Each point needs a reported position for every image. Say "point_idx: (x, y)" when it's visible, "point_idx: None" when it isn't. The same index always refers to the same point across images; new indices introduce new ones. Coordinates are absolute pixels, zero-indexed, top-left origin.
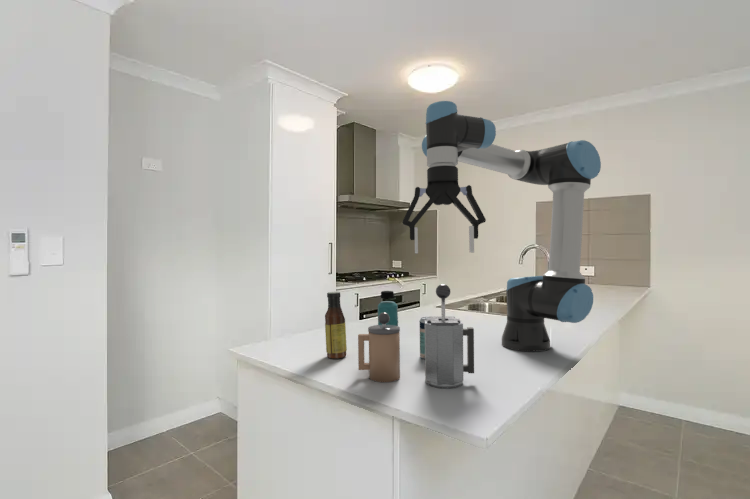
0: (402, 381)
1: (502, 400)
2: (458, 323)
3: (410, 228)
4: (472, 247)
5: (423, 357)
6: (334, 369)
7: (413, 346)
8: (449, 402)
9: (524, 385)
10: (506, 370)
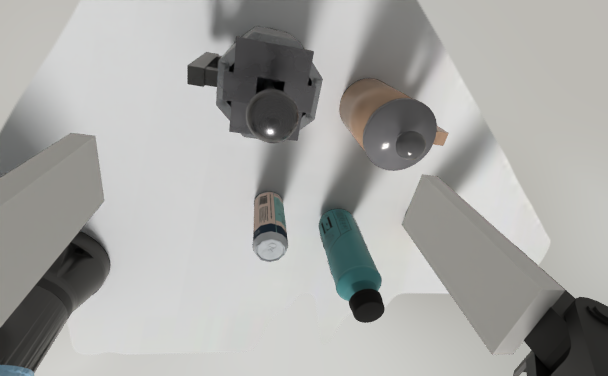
0: (340, 79)
1: None
2: (231, 63)
3: (571, 301)
4: (64, 147)
5: (278, 195)
6: (437, 154)
7: (281, 262)
8: None
9: (105, 24)
10: (128, 119)
